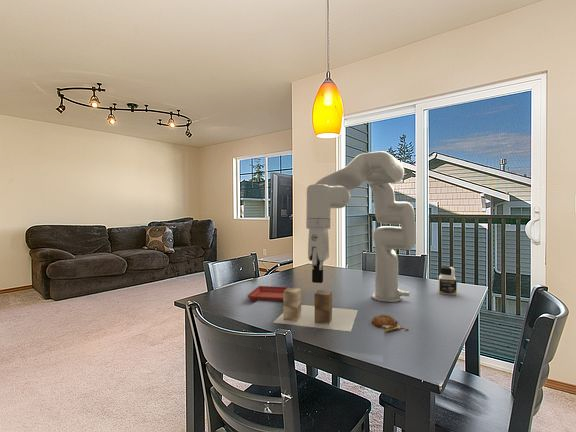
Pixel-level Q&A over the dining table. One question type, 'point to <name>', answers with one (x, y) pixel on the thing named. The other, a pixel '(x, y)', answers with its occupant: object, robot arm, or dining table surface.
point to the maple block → (292, 304)
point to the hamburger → (386, 322)
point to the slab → (340, 321)
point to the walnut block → (323, 307)
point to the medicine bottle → (447, 281)
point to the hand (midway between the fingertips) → (317, 282)
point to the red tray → (267, 293)
